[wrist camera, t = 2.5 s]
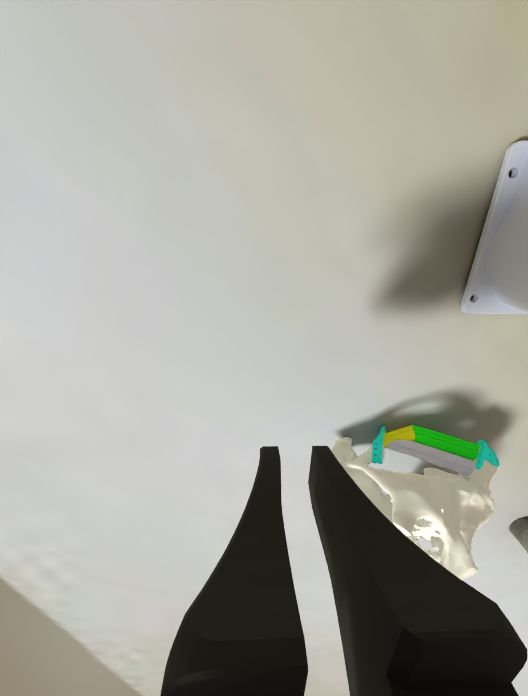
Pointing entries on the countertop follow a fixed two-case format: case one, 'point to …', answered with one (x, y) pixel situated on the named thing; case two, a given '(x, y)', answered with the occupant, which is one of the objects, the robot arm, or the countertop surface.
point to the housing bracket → (520, 531)
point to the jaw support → (429, 490)
